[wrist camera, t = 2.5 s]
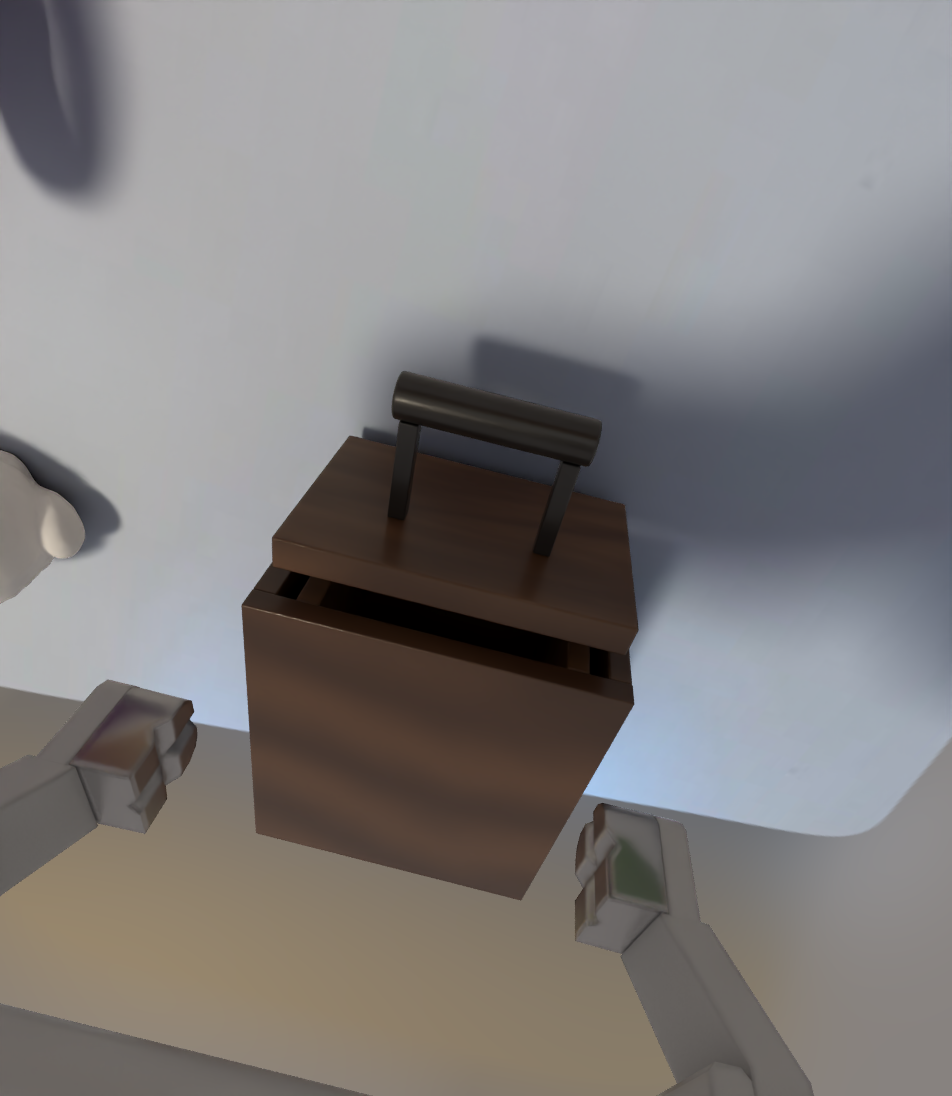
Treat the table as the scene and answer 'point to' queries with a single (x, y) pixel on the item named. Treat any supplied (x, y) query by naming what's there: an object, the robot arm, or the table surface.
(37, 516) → the rabbit
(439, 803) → the cabinet
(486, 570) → the drawer
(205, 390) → the table surface
